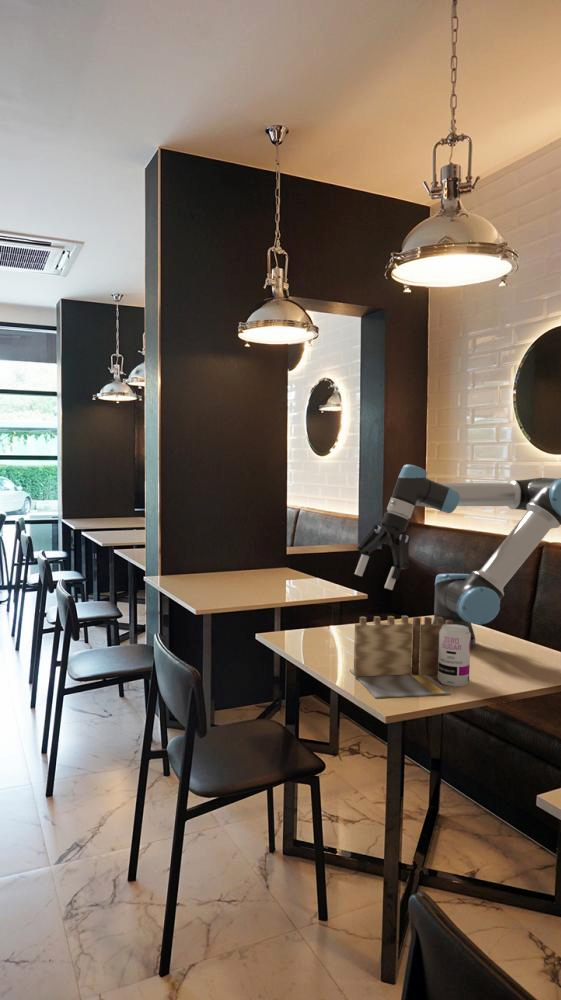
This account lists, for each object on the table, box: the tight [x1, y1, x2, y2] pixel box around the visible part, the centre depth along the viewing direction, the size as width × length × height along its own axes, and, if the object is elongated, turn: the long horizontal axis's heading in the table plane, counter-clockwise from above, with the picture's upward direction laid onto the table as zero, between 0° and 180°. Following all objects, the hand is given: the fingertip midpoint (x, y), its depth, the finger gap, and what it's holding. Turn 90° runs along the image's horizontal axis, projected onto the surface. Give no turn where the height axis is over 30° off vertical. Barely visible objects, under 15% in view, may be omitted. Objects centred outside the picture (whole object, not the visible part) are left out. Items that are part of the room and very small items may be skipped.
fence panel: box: [353, 615, 413, 678], centre depth 182 cm, size 16×2×16 cm, turn 101°
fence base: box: [349, 616, 453, 699], centre depth 179 cm, size 28×22×16 cm
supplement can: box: [437, 624, 471, 688], centre depth 179 cm, size 8×8×15 cm
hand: (372, 582), depth 199 cm, fingers open, 13 cm apart
